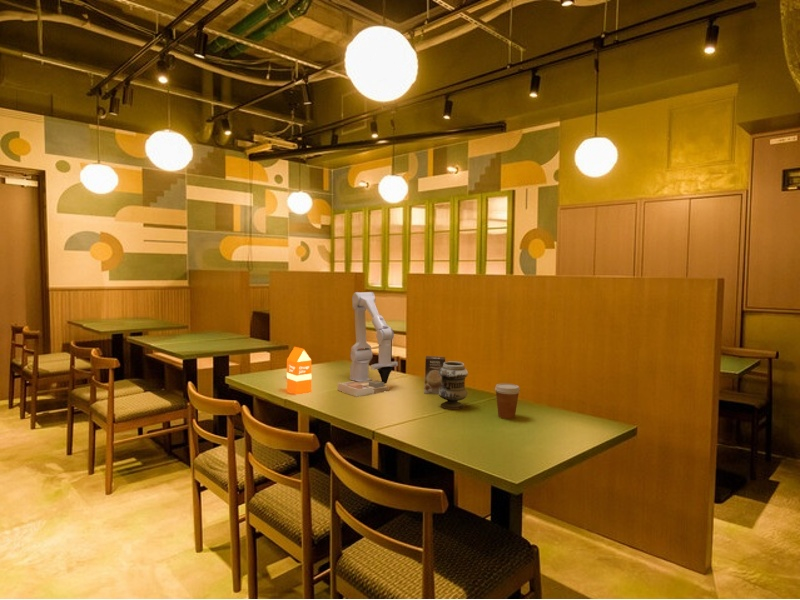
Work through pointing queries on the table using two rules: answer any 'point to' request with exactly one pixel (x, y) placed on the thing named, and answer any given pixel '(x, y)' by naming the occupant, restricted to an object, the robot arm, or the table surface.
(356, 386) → the tile terracotta
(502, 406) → the disposable coffee cup
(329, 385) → the table surface
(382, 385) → the tile slate
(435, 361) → the coffee box
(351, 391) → the tray
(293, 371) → the orange juice
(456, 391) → the apothecary jar
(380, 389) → the board
